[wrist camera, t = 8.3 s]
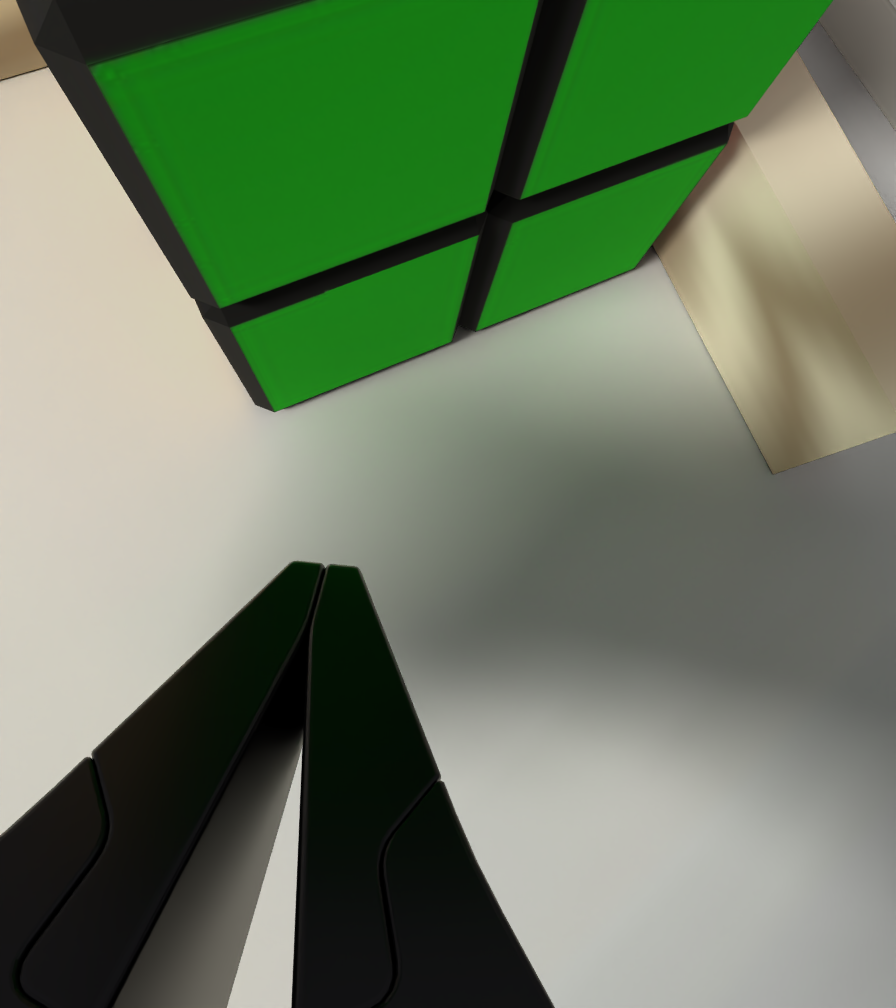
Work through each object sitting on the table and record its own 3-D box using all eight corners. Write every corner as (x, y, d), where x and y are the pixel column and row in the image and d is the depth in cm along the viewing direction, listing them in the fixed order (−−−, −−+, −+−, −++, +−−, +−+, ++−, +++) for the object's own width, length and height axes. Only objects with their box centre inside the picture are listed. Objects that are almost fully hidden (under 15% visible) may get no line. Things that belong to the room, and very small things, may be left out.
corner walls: (840, 442, 16) (989, 387, 12) (121, 786, 13) (10, 861, 9) (524, -142, 18) (565, -354, 14) (-165, 46, 15) (-360, -154, 11)
